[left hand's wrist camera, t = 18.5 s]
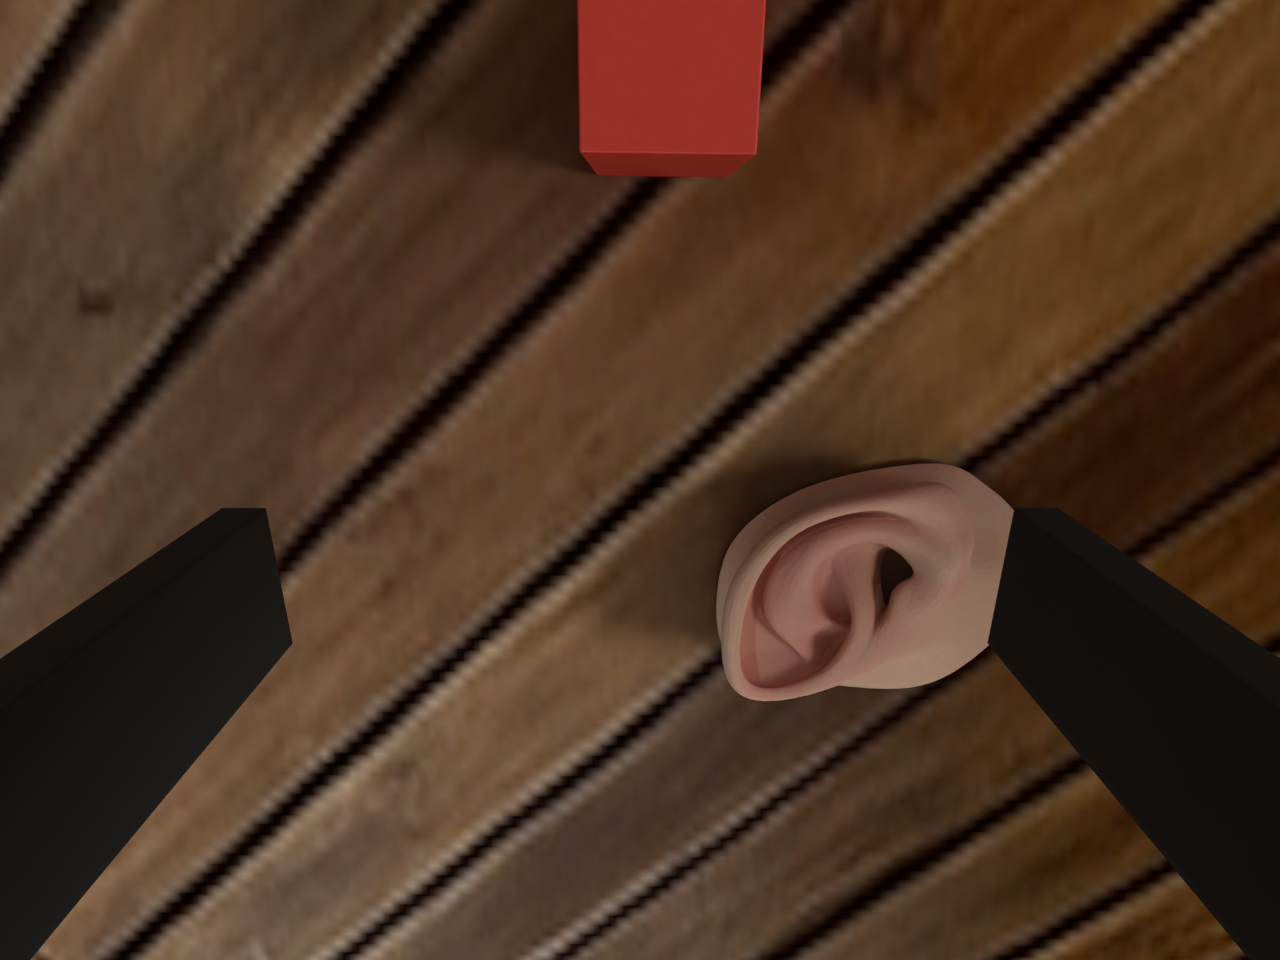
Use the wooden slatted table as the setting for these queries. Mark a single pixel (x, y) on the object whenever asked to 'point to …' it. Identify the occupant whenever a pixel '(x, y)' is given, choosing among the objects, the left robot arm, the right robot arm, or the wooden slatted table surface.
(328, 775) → the wooden slatted table surface
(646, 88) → the block
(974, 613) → the anatomical model
